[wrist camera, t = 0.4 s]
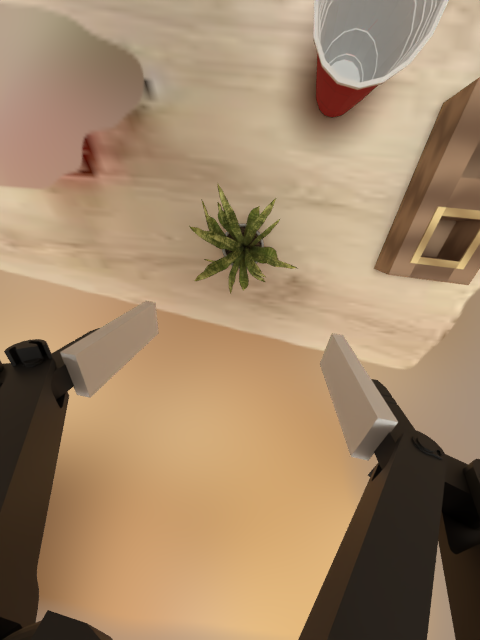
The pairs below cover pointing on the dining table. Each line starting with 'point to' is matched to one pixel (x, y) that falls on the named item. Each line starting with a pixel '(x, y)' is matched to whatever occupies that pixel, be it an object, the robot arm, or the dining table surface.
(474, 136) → the hole block
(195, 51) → the dining table surface
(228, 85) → the dining table surface
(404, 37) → the plastic cup
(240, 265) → the house plant
